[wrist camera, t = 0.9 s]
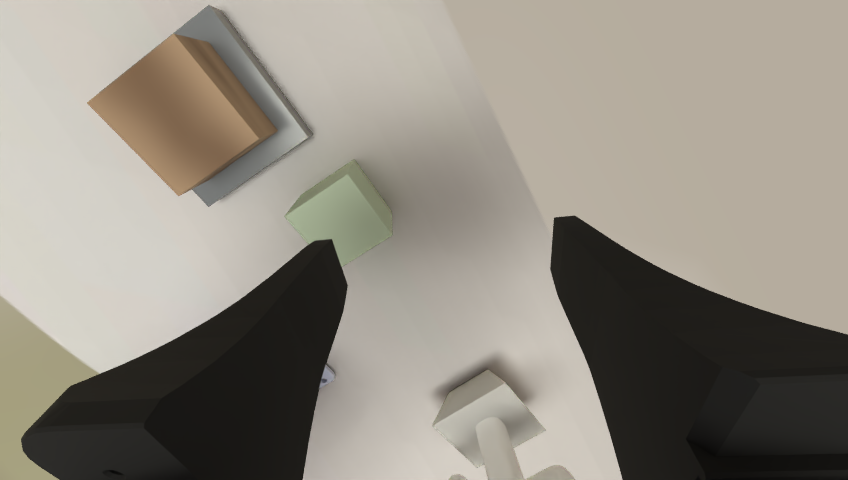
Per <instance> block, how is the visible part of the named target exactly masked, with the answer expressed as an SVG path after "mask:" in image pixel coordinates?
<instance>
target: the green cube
mask: <svg viewBox="0 0 848 480" xmlns="http://www.w3.org/2000/svg"><path fill="white" fill-rule="evenodd" d="M284 217H285V218H286V219H287V220H288V221H289V222H290V224H291V225H292V226H293V227H294V228H295V229H296V230H297V232H298V233H299V234H300V235H301V236H302V237H303V239H304V240H305V241H306V242H307V243H308V244H310V243H312V242H313V241H316V240H326V239H332V241H333V244H334V247H335V250H336V252H337V255H338V258H339V261H340V264H341V267H343V266H344V265H346V264H347V263H349V262H351V261H352V260H354V259H355V258H357V257H359V256H360V255H362V254H363V253H365V252H367V251H368V250H370V249H371V248H373V247H375V246H376V245H378V244H379V243H381V242H383V241H384V240H386V239H387V238H389V237H391V236H392V235H393V234H392V212H391V210H390V209H389V207H388V206H387V205H386V203H385V202H384V200H383V199H382V198H381V196H380V195H379V193H378V192H377V191H376V189H375V188H374V186H373V185H372V184H371V182H370V181H369V179H368V178H367V177H366V175H365V174H364V172H363V171H362V170H361V168H360V167H359V165H358V164H357V163H356V161H355V160H352V161H351V162H349V163H348V164H346V165H345V166H344V167H342V168H341V169H339V170H338V171H336V172H335V173H333V174H332V175H330V176H329V177H327V178H326V179H324V180H323V181H321V182H320V183H318V184H317V185H315V186H314V187H312V188H311V189H309V190H308V191H306V192H305V193H303V194H302V195H301V196H300V197H299V198H298V200H297V201H296V202H295V204H294V205H293V206H292V207H291V209H290V210H289V211H288V212H287V214H286V215H285V216H284Z"/></svg>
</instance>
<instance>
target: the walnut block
mask: <svg viewBox="0 0 848 480" xmlns="http://www.w3.org/2000/svg"><path fill="white" fill-rule="evenodd" d="M87 104H88V105H89V106H90V107H91V108H92V109H93V110H94V111H95V112H96V113H97V114H98V115H99V116H100V117H101V118H102V119H103V120H104V121H105V122H106V123H107V124H108V125H109V126H110V127H111V128H112V129H113V130H114V131H115V132H116V133H117V134H118V135H119V136H120V137H121V138H122V139H123V140H124V141H125V142H126V143H127V144H128V145H129V146H130V147H131V148H132V149H133V150H134V151H135V152H136V153H137V154H138V155H139V156H140V157H141V158H142V159H143V160H144V161H145V162H146V164H147V165H148V166H149V167H150V168H151V169H152V170H153V171H154V172H155V173H156V174H157V175H158V176H159V177H160V178H161V179H162V180H163V181H164V182H165V183H166V184H167V185H168V186H169V187H170V188H171V189H172V190H173V191H174V192H175V193H176V194H177V195H178V196H180V195H182V194H184V193H186V192H187V191H189V190H191V189H193V188H195V187H197V186H199V185H201V184H203V183H204V182H206V181H208V180H210V179H211V178H213V177H214V176H215V175H217V174H218V173H220V172H221V171H222V170H224V169H225V168H227V167H228V166H229V165H231V164H232V163H234V162H235V161H236V160H238V159H239V158H241V157H242V156H243V155H245V154H246V153H248V152H249V151H251V150H252V149H253V148H255V147H256V146H258V145H259V144H260V143H262V142H263V141H265V140H266V139H267V138H269V137H270V136H272V135H273V134H274V133H276V132H277V131H278V130H277V129H276V127H275V126H274V125H273V124H272V122H271V121H270V120H269V119H268V117H267V116H266V115H265V113H264V112H263V111H262V110H261V108H260V107H259V106H258V104H257V103H256V102H255V101H254V99H253V98H252V97H251V96H250V94H249V93H248V92H247V90H246V89H245V88H244V87H243V85H242V84H241V83H240V81H239V80H238V79H237V78H236V76H235V75H234V74H233V73H232V71H231V70H230V69H229V67H228V66H227V65H226V64H225V62H224V61H223V60H222V58H221V57H220V56H219V55H218V53H217V52H216V51H215V50H214V48H213V47H212V46H211V44H210V43H209V42H206V41H202V40H198V39H194V38H189V37H185V36H181V35H177V34H172V35H171V36H170V37H169V38H167V39H166V40H165V41H164V42H162V43H161V44H160V45H159V46H157V47H156V48H155V49H154V50H152V51H151V52H150V53H149V54H147V55H146V56H145V57H144V58H142V59H141V60H140V61H139V62H137V63H136V64H135V65H134V66H132V67H131V68H130V69H129V70H127V71H126V72H125V73H124V74H122V75H121V76H120V77H119V78H117V79H116V80H115V81H114V82H112V83H111V84H110V85H109V86H107V87H106V88H105V89H104V90H102V91H101V92H100V93H99V94H97V95H96V96H95V97H94V98H92V99H91V100H90V101H89V102H87Z"/></svg>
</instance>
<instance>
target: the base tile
mask: <svg viewBox="0 0 848 480" xmlns="http://www.w3.org/2000/svg"><path fill="white" fill-rule="evenodd" d="M173 34H177V35H181V36H185V37H189V38H194V39H198V40H202V41H206V42H209V43H210V44H211V46H212V47H213V48H214V50H215V51H216V52H217V53H218V55H219V56H220V57H221V58H222V60H223V61H224V62H225V64H226V65H227V66H228V67H229V69H230V70H231V71H232V73H233V74H234V75H235V76H236V78H237V79H238V80H239V81H240V83H241V84H242V85H243V87H244V88H245V89H246V90H247V92H248V93H249V94H250V96H251V97H252V98H253V99H254V101H255V102H256V103H257V104H258V106H259V107H260V108H261V110H262V111H263V112H264V113H265V115H266V116H267V117H268V119H269V120H270V121H271V122H272V124H273V125H274V126H275V127H276V129H277V130H278V131H277V132H276V133H274V134H273V135H272V136H270V137H269V138H267V139H266V140H265V141H263V142H262V143H260V144H259V145H258V146H256V147H255V148H253V149H252V150H251V151H249V152H248V153H246V154H245V155H243V156H242V157H241V158H239V159H238V160H236V161H235V162H234V163H232V164H231V165H229V166H228V167H227V168H225V169H224V170H222V171H221V172H220V173H218V174H217V175H215V176H214V177H213V178H211V179H210V180H208V181H206V182H204V183H203V184H201V185H199V186H197V187H195V188H193V189H192V190H193V191H194V192H195V193H196V194H197V195H198V196H199V197H200V198H201V199H202V200H203V201H204V203H205V204H206V205H207V206H208V207H209V206H211V205H212V204H214V203H215V202H216V201H218V200H219V199H221V198H222V197H224V196H225V195H227V194H228V193H229V192H231V191H232V190H234V189H235V188H237V187H238V186H239V185H241V184H242V183H244V182H245V181H247V180H248V179H250V178H251V177H252V176H254V175H255V174H257V173H258V172H260V171H261V170H262V169H264V168H265V167H267V166H268V165H270V164H271V163H272V162H274V161H275V160H277V159H278V158H280V157H281V156H282V155H284V154H285V153H287V152H288V151H290V150H291V149H293V148H294V147H295V146H297V145H298V144H300V143H301V142H303V141H304V140H305V139H307V138H308V137H310V136H311V135H313V134H312V132H311V131H310V130H309V128H308V127H307V126H306V124H305V123H304V122H303V120H302V119H301V118H300V116H299V115H298V113H297V112H296V111H295V109H294V108H293V107H292V105H291V104H290V103H289V101H288V100H287V99H286V97H285V96H284V95H283V93H282V92H281V91H280V89H279V88H278V87H277V85H276V84H275V83H274V81H273V80H272V78H271V77H270V76H269V74H268V73H267V72H266V70H265V69H264V68H263V66H262V65H261V64H260V62H259V61H258V60H257V58H256V57H255V56H254V54H253V53H252V52H251V50H250V49H249V47H248V46H247V45H246V43H245V42H244V41H243V39H242V38H241V37H240V35H239V34H238V33H237V31H236V30H235V29H234V27H233V26H232V25H231V23H230V22H229V21H228V19H227V18H226V17H225V15H224V14H223V12H222V11H221V10H219V9H217V8H214V7H212V6H210V5H208V6H207V7H206V8H204V9H203V10H202V11H201V12H199V13H198V14H197V15H196V16H194V17H193V18H192V19H191V20H189V21H188V22H187V23H186V24H184V25H183V26H182V27H181V28H179V29H178V30H177V31H176V32H174V33H173ZM169 37H170V36H169ZM169 37H168V38H169ZM164 41H165V40H164ZM164 41H163V42H164ZM159 45H160V44H159ZM159 45H158V46H159ZM154 49H155V48H154ZM154 49H153V50H154ZM149 53H150V52H149ZM149 53H148V54H149ZM144 57H145V56H144ZM144 57H143V58H144ZM139 61H140V60H139ZM139 61H138V62H139ZM134 65H135V64H134ZM134 65H133V66H134ZM129 69H130V68H129ZM129 69H128V70H129ZM124 73H125V72H124ZM124 73H123V74H124ZM119 77H120V76H119ZM119 77H118V78H119ZM114 81H115V80H114ZM114 81H113V82H114ZM109 85H110V84H109ZM109 85H108V86H109ZM104 89H105V88H104ZM104 89H103V90H104ZM99 93H100V92H99Z"/></svg>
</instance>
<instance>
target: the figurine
mask: <svg viewBox="0 0 848 480" xmlns="http://www.w3.org/2000/svg"><path fill="white" fill-rule="evenodd" d="M432 426H433V427H434V428H435V429H436V430H437V431H438V432H439V433H440V434H441V435H442V436H443V437H444V438H446V439H447V440H448V441H449V442H450V443H451V444H452V445H453V446H454V447H455V448H456V449H457V450H458V451H459V452H461V453H462V454H463V455H464V456H465V457H466V458H467V459H468V460H469V461H470V462H471V463H472V464H473V465H474V466H475V467H477V468H478V467H480V466H482V465H484V466H485V470H486V474H487V477H488V480H575V479H574V477H573V476H572V474H571V473H570V472H569V471H568V470H567V469H566V468H564V467H563V466H560V465H554V466H551V467H548V468H546V469H544V470H543V471H541V472H539V473H537V474H535V475H533V476H531V477H529V478H527V479H524V477H523V475H522V472H521V469H520V466H519V463H518V460H517V457H516V454H515V452H514V449H513V448H515V447H516V446H518V445H520V444H522V443H524V442H526V441H527V440H529V439H531V438H533V437H535V436H537V435H538V434H540V433H542V432H544V431H546V429H545V428H544V427H543V426H542V425H541V424H540V422H539V421H538V420H537V419H536V418H535V417H534V415H533V414H532V413H531V412H530V411H529V409H528V408H527V407H526V406H525V405H524V404H523V402H522V401H521V400H520V399H519V398H518V397H517V395H516V394H515V393H514V392H513V391H512V389H511V388H510V387H509V386H508V385H507V384H506V383H505V382H504V381H503V380H501V379H500V378H499V377H498V376H496V375H495V374H494V373H492V372H491V371H490V370H488V369H487V370H486V371H484V372H482V373H481V374H479V375H477V376H476V377H474V378H472V379H471V380H469V381H467V382H466V383H464V384H462V385H461V386H459V387H457V388H456V389H454V390H452V391H451V392H449V393H448V395H447V397H446V399H445V401H444V403H443V405H442V407H441V409H440V411H439V413H438V415H437V417H436V419H435V421H434V423H433V425H432ZM449 480H467V479H466V478H465V477H464V476H462V475H459V474H456V475H452V476H451V477H450V478H449Z"/></svg>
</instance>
